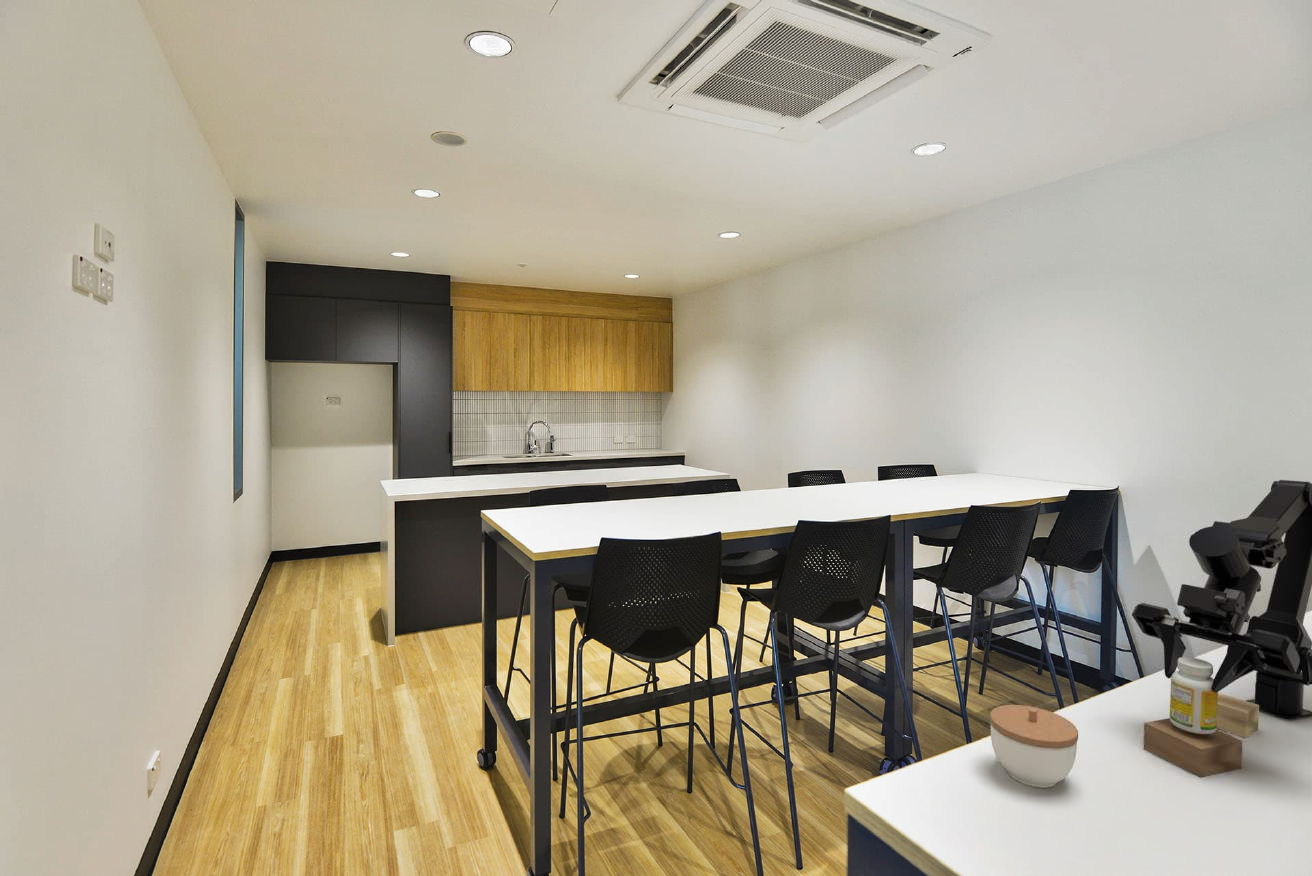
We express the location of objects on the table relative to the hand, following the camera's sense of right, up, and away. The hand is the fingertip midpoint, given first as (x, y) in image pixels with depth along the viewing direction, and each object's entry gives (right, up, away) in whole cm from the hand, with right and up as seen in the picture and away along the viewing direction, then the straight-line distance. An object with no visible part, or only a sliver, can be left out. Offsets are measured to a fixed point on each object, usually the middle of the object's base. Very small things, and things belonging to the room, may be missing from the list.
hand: (1189, 683), depth 96 cm
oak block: (+15, -11, +10) cm, 21 cm away
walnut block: (+1, -11, +1) cm, 11 cm away
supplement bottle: (+1, -7, +1) cm, 7 cm away
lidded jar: (-25, -12, -3) cm, 28 cm away
